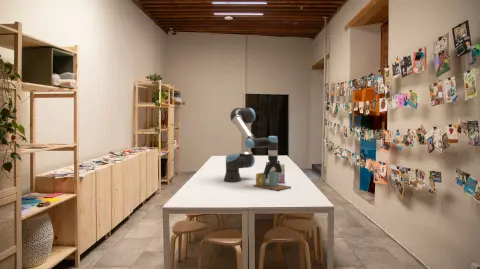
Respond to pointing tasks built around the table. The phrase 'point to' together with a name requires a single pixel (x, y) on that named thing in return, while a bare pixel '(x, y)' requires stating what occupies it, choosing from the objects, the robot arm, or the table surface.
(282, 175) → the candy box
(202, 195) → the table surface
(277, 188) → the board
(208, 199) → the table surface
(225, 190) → the table surface
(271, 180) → the stub
